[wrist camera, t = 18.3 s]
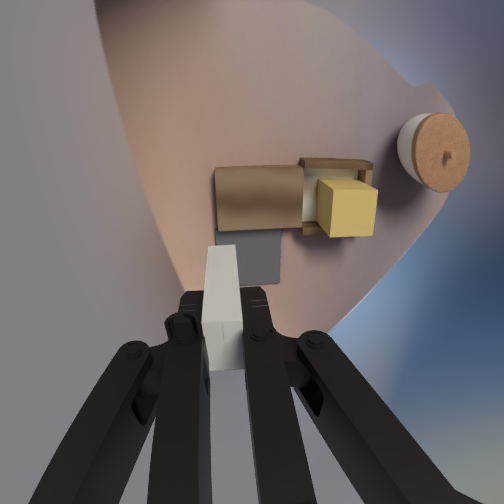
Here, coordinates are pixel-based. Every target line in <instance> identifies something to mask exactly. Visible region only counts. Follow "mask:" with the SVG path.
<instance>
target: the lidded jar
mask: <svg viewBox="0 0 504 504" xmlns="http://www.w3.org/2000/svg"><path fill="white" fill-rule="evenodd" d="M397 152H398V156H399V159H400V162H401V164H402V166H403V167H404V169H405V170H406V172H407V173H408V174H409V175H410V176H411V177H412V178H414V179H415V180H416V181H418V182H419V183H421V184H423V185H425V186H426V187H427V188H429V189H431V190H433V191H436V192H448V191H450V190H452V189H454V188H455V187H456V186H457V185H458V184H459V183H460V182H461V181H462V180H463V178H464V176H465V174H466V172H467V169H468V165H469V160H470V146H469V140H468V137H467V134H466V132H465V130H464V128H463V126H462V125H461V124H460V123H459V121H458V120H457V119H456V118H454V117H453V116H451V115H449V114H445V113H424V114H419V115H416V116H414V117H412V118H411V119H409V120H408V121H407V122H406V123H405V124H404V125H403V127H402V128H401V130H400V132H399V135H398V139H397Z"/></svg>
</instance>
